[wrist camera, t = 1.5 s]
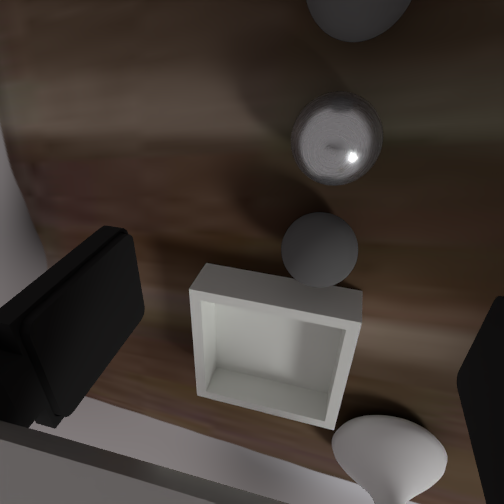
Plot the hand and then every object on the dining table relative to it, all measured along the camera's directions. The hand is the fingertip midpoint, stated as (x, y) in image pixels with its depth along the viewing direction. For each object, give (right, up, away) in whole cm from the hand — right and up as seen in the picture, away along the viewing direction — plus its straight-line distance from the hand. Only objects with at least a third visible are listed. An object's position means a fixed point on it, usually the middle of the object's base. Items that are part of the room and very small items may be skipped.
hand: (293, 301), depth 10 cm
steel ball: (+4, +8, +13) cm, 16 cm away
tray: (+1, -7, +27) cm, 27 cm away
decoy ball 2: (+4, +1, +17) cm, 18 cm away
